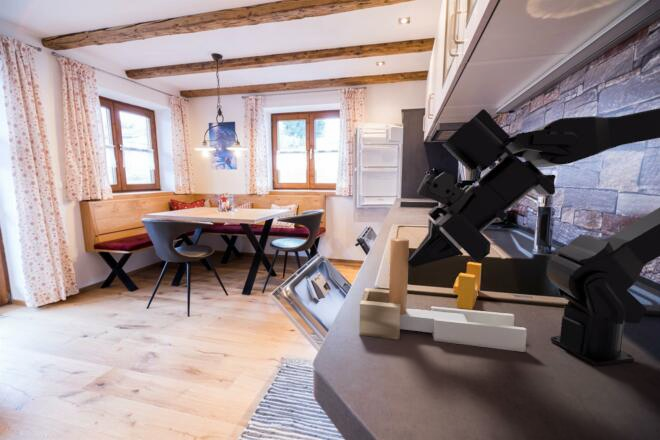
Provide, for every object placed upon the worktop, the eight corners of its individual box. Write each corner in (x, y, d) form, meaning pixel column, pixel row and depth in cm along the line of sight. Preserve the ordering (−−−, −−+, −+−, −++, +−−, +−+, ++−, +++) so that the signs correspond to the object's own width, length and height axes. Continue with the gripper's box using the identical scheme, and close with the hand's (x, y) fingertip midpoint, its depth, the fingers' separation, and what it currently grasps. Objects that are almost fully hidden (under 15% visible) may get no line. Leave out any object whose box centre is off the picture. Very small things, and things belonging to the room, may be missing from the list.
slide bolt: (462, 327, 46) (467, 241, 44) (466, 336, 43) (472, 245, 41) (382, 318, 49) (384, 237, 47) (381, 326, 46) (383, 240, 44)
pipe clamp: (458, 288, 66) (460, 260, 65) (479, 292, 64) (481, 263, 63) (447, 305, 56) (448, 273, 55) (471, 311, 54) (473, 277, 53)
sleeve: (511, 333, 45) (512, 314, 45) (525, 351, 40) (526, 330, 40) (430, 324, 48) (431, 306, 48) (433, 340, 43) (434, 320, 43)
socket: (399, 318, 50) (400, 290, 50) (399, 339, 43) (400, 307, 43) (364, 315, 52) (365, 287, 51) (359, 334, 45) (359, 303, 44)
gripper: (443, 160, 51) (378, 220, 55) (466, 145, 33) (367, 236, 37) (489, 206, 50) (419, 263, 54) (539, 216, 32) (429, 302, 36)
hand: (409, 264), depth 45 cm, fingers closed, pressing on slide bolt
